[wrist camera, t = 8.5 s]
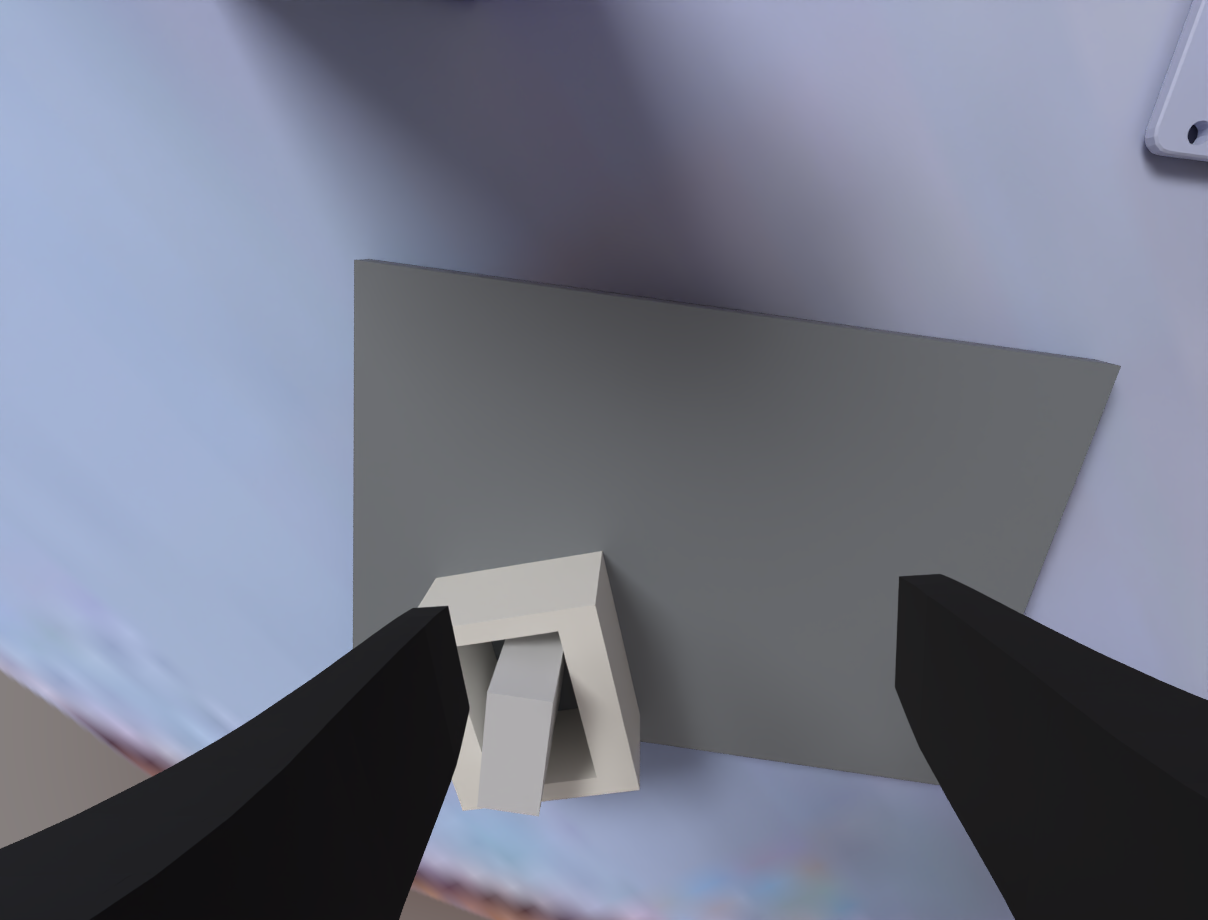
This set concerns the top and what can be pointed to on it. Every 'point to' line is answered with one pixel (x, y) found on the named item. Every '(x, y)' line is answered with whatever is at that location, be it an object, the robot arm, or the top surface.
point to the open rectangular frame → (594, 659)
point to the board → (700, 499)
